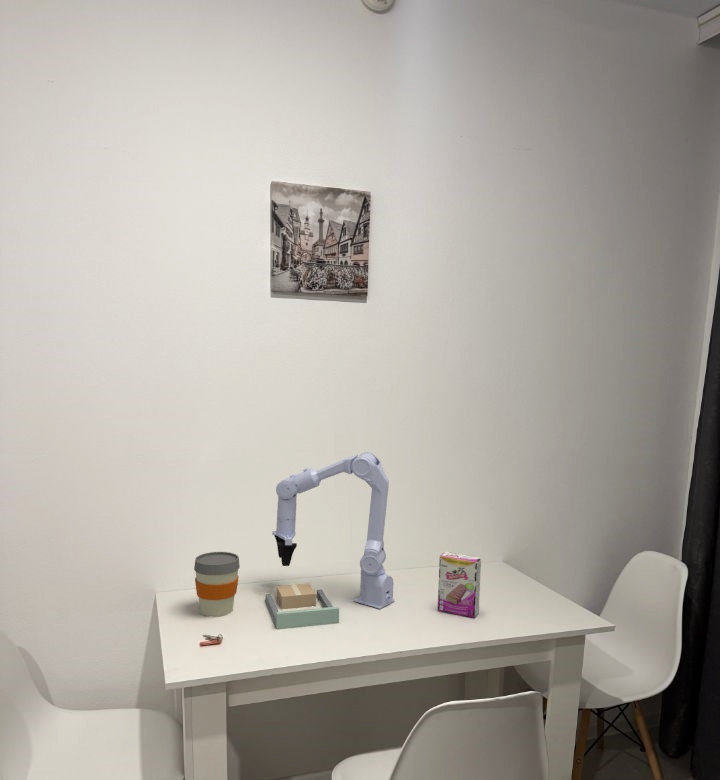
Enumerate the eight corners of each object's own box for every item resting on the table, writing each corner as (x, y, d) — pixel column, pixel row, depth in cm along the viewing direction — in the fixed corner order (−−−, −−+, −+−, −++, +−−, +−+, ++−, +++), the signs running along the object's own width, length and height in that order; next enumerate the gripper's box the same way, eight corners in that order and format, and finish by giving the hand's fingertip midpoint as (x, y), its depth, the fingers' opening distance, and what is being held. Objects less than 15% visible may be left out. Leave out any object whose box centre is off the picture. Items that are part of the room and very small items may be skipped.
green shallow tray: (265, 600, 189) (265, 587, 188) (321, 595, 194) (321, 582, 193) (276, 629, 169) (277, 614, 169) (338, 622, 174) (339, 608, 174)
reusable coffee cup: (200, 601, 187) (201, 550, 186) (243, 602, 187) (243, 552, 186) (187, 618, 174) (188, 564, 174) (233, 620, 174) (234, 566, 173)
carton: (276, 599, 191) (276, 585, 191) (309, 596, 194) (309, 583, 194) (281, 610, 182) (281, 596, 182) (315, 607, 185) (316, 593, 185)
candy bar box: (436, 611, 183) (438, 555, 183) (442, 605, 188) (443, 551, 187) (475, 619, 179) (477, 561, 178) (479, 613, 183) (481, 556, 182)
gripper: (270, 511, 200) (268, 554, 201) (276, 524, 186) (273, 569, 187) (292, 511, 202) (290, 553, 203) (300, 524, 188) (297, 569, 189)
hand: (284, 561), depth 195 cm, fingers open, 7 cm apart
